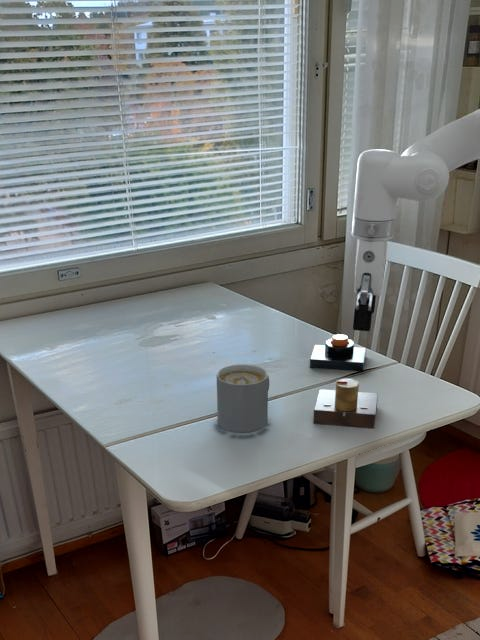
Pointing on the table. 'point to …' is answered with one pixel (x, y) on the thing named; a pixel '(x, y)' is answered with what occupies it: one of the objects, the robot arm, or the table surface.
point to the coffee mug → (242, 398)
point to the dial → (346, 394)
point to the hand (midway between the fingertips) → (363, 321)
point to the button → (340, 340)
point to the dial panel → (355, 418)
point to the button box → (338, 357)
